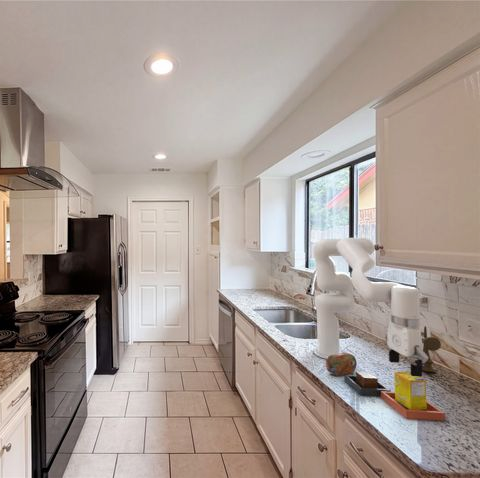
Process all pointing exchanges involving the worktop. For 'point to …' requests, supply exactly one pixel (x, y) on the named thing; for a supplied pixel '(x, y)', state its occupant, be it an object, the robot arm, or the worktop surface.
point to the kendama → (429, 344)
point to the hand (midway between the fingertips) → (404, 368)
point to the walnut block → (366, 380)
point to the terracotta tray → (430, 414)
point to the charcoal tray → (365, 391)
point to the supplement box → (410, 391)
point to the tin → (341, 364)
